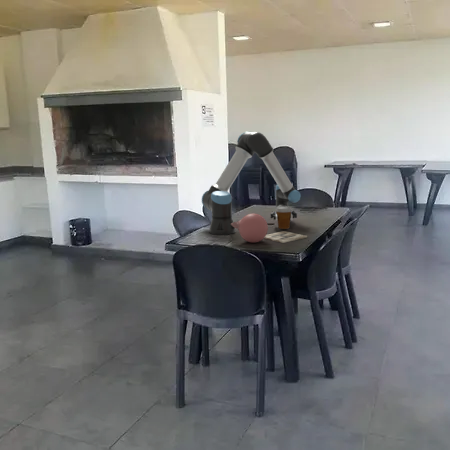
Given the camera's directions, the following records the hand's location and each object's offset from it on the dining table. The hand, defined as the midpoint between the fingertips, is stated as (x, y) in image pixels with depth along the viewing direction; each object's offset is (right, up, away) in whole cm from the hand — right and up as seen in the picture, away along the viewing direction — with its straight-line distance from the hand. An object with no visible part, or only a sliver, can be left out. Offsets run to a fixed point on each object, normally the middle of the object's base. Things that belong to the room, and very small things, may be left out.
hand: (284, 218), depth 301 cm
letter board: (-2, -11, -14) cm, 18 cm away
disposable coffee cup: (+1, -6, +6) cm, 8 cm away
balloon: (-21, -13, -21) cm, 33 cm away
